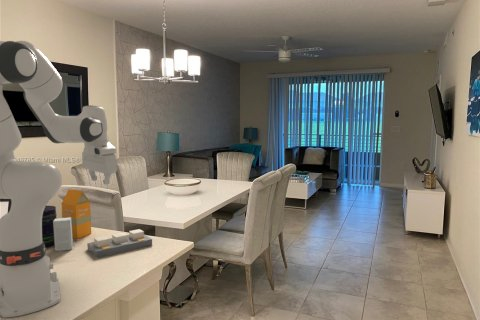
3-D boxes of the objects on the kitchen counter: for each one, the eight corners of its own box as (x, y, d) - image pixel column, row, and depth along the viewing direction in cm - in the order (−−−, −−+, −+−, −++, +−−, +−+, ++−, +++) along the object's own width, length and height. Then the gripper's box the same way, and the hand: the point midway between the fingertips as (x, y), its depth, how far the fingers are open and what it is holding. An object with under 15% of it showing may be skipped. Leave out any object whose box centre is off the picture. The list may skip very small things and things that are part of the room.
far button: (143, 238, 149) (143, 231, 149) (133, 240, 146) (133, 233, 146) (139, 235, 152) (139, 229, 152) (129, 237, 150) (129, 231, 149)
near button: (109, 245, 140) (109, 238, 140) (98, 248, 137) (97, 241, 137) (105, 242, 144) (105, 235, 143) (94, 245, 141) (94, 238, 140)
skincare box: (73, 246, 146) (71, 217, 144) (71, 249, 142) (70, 219, 140) (56, 247, 144) (54, 218, 142) (54, 251, 140) (52, 221, 138)
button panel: (152, 245, 147) (152, 238, 147) (96, 258, 134) (96, 250, 133) (140, 237, 156) (140, 231, 155) (87, 249, 142) (87, 242, 142)
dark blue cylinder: (26, 245, 146) (23, 209, 145) (50, 238, 154) (48, 204, 152) (37, 250, 140) (35, 213, 139) (62, 243, 148) (60, 208, 146)
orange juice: (77, 238, 154) (74, 192, 152) (62, 235, 158) (60, 190, 156) (91, 233, 161) (89, 189, 159) (77, 230, 165) (75, 187, 163)
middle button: (127, 241, 144) (127, 235, 144) (116, 244, 142) (116, 237, 141) (123, 238, 148) (122, 232, 148) (112, 241, 145) (112, 234, 145)
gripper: (76, 146, 145) (79, 179, 148) (103, 151, 132) (106, 188, 135) (91, 144, 150) (94, 176, 152) (118, 149, 137) (121, 184, 139)
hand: (100, 182), depth 143 cm, fingers open, 8 cm apart
